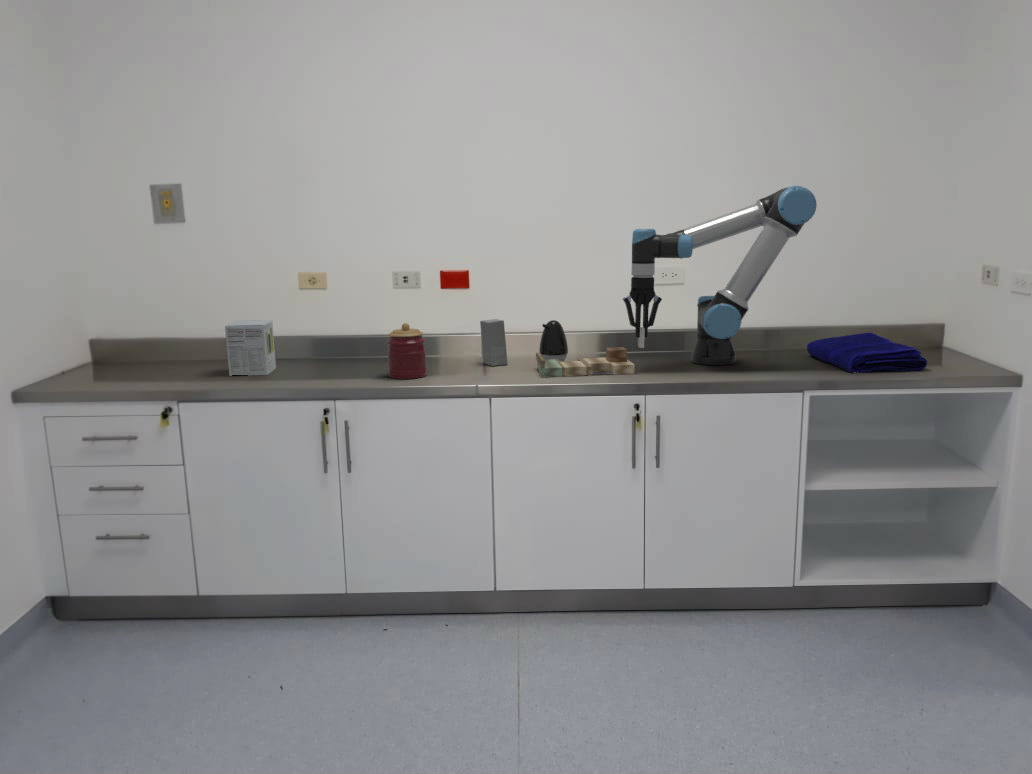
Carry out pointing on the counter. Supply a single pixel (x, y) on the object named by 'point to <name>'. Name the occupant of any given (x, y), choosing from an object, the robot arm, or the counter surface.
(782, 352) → the counter surface
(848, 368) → the towel
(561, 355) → the pump dispenser
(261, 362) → the supplement box
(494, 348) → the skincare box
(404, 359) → the canister
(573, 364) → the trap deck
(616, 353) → the walnut block
